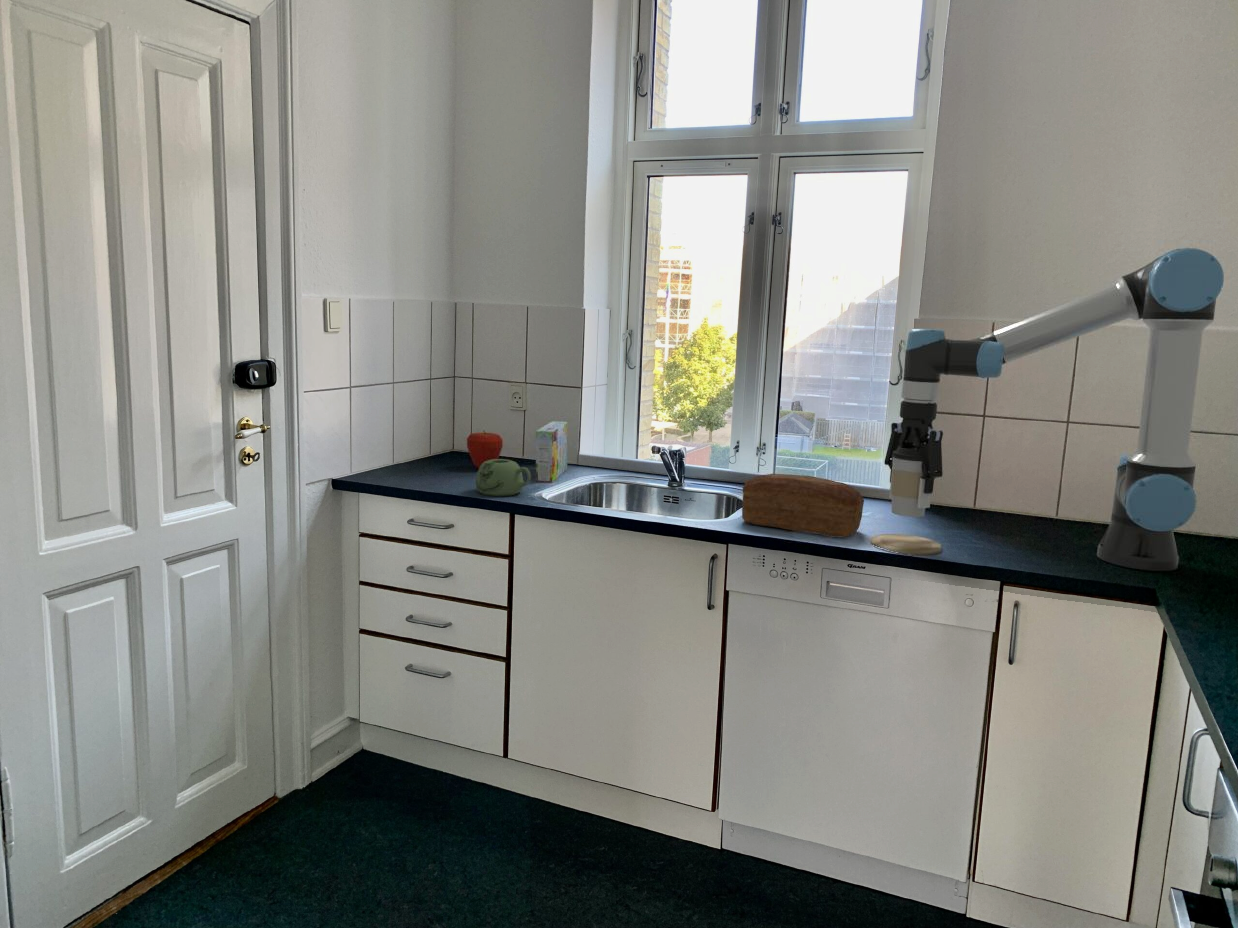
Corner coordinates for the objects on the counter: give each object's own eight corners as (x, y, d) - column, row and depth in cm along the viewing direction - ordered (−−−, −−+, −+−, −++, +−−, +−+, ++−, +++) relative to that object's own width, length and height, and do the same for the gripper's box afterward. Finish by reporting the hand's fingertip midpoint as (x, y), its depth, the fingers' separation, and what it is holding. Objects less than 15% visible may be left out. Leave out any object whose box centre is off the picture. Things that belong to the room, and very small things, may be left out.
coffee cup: (931, 519, 190) (939, 451, 187) (888, 516, 192) (895, 448, 189) (926, 510, 199) (933, 444, 196) (884, 507, 200) (891, 442, 198)
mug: (465, 493, 234) (465, 461, 233) (492, 485, 246) (493, 455, 244) (517, 501, 228) (517, 468, 226) (542, 492, 239) (543, 461, 238)
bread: (754, 514, 223) (757, 466, 221) (866, 531, 209) (870, 480, 207) (733, 524, 211) (736, 474, 209) (850, 543, 198) (855, 490, 195)
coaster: (956, 552, 192) (956, 548, 192) (900, 557, 187) (901, 553, 187) (909, 535, 206) (909, 531, 206) (856, 539, 200) (857, 535, 200)
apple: (485, 473, 262) (485, 433, 260) (458, 469, 268) (458, 429, 266) (509, 468, 271) (510, 430, 269) (483, 464, 277) (483, 426, 275)
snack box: (550, 468, 274) (551, 420, 271) (567, 470, 273) (569, 421, 271) (534, 481, 253) (535, 429, 251) (553, 483, 253) (554, 430, 250)
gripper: (969, 406, 183) (957, 513, 187) (900, 395, 202) (890, 492, 206) (940, 406, 180) (929, 514, 184) (873, 395, 199) (864, 493, 203)
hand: (908, 502), depth 195 cm, fingers closed on coffee cup, 8 cm apart
